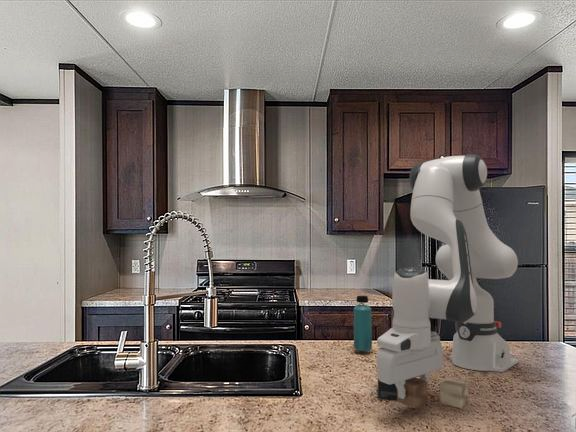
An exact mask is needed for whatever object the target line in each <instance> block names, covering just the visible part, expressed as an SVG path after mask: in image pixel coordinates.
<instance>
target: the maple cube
mask: <svg viewBox="0 0 576 432" xmlns="http://www.w3.org/2000/svg"><path fill="white" fill-rule="evenodd" d="M439 385H440V388H439V389H440V391H439V392H440V397H439V398H440V399H439V400H440V403H439V404H442V405H446V404H447V405H446V406H450V405H451V407H454V406H455V408H458V407H459V408H458V409H461V408H463V407H464V406H465V405H466V404H468V403H469V400H468V396H469V395H468V392H469V391H468V382H466V381H463V380H462V381H461V380H457V379H451V378H446V379H445V380H443V381H442V382H440V384H439ZM463 405H464V406H463ZM462 406H463V407H462Z"/></svg>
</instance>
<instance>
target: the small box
mask: <svg viewBox="0 0 576 432" xmlns="http://www.w3.org/2000/svg"><path fill="white" fill-rule="evenodd" d="M380 348H381V347H379V348H378V350H379V349H380ZM377 399H385V400H396V401H397V387H396V385H395V383H394V384H391V385H389V384H386V383H383V382H381V381H380V380H379V379H378V378H377Z"/></svg>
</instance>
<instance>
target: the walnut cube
mask: <svg viewBox="0 0 576 432" xmlns="http://www.w3.org/2000/svg"><path fill="white" fill-rule="evenodd" d="M419 378H420V377H419ZM419 378H418V377H414V378H411V379H407V380H405V384H404V388H405V390H408V397H407V398H405V399H402V398H399V396H398V389H397V400H396V401H397V402H399V403H402V404H404V405H406V406H408V407H411V408H416V407H420V406H423V405H425V404H428V402H429V401H428V399H429V397H428V395H429V394H428V393H429V392H428V391H429V390H428V381H425V380H422V379H419Z"/></svg>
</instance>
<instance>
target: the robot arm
mask: <svg viewBox="0 0 576 432" xmlns="http://www.w3.org/2000/svg"><path fill="white" fill-rule="evenodd" d="M487 176H488V168H487V165H486V163H485V160H484V159H483V157H481V156H480V155H479V154H472V153H471V154H470V153H469V154H467V153H466V154H465V155H451V156H449V155H448V156H444V157H440V158H436V159H431V160H428V161H420V162H418V163H416V164H414V165H413V167H412V168H411V169H410V171H409V185H410V188H411V190H412V195H411V201H410V210H409V211H410V212H409V213H410V215H409V216H410V221H411V222H412V225H413V226H414V227H415V228H416V230H418V232H420V233H421V234H423V235H425V236H426V237H429V238H432V239H434V240H437V241H439V242H442V243H444V245H441V246H440V247H439V248H438V250H437V251H436V253H435V254H436V255H435V265H436V267H437V269H438V270H439V271H440V272H441V273H442V274H443V275H444V276H445V277H446V278H447V279H448V280H446V279H434V278H433V279H432V278H431V279H430V278H429V276H428V272H427V270H425V268H420V267H417V266H416V267H413V266H412V267H410V266H408V267H403V268H400V269H398V270H396V271H395V272H394V277H393V281H392V282H393V283H392V291H391V292H392V296H391V300H392V301H391V304H392V305H391V306H392V309H393V318H392V327H391V328H389V329H388V330H387V331H386V332H384V333H383V334H382V335H380V336H379V337H378V338H377V340H376V343H377V346H378V347H379V348H380V349H379V348H378V351H377V355H376V376H377V380H378V379H379V380H380V381H381V382H383V383H386V384H389V385H391V384H394V383H395V385H396V387H397V389H398V396H399V398H402V399H405V398H407V397H408V390H405V388H404V384H405V380H407V379H411V378H414V377H416V378H418V377H419V379H422V380H425V381H428V380H429V378H430V373H433V372H437V371H440V370H442V369H443V367H444V362H445V361H444V351H443V346H442V342H441V337H440V335H439V334H438V333H437V332H436V331H432V329H431V327H432V326H431V320H430V319H437V320H438V319H439V320H446V321H450V322H453V323H454V322H455V324H454V325H455V331H456V332H455V333H454V335H453V338H452V339H453V340H452V352H451V354H449V359H450V360H451V362H452V363H451V364H453V365H454V366H457V367H459V368H462V369H467V370H472V371H481V372H483V371H484V372H499V373H503V372H506V371H507V370H509V369H510V368H512V367H514V366H515V365H517V364H518V363H519V360H518V359H517V358H515V357H512V356H511V351H510V350H511V348H510V345H509V343H508V342H507V341H506V340H505V339H504V338H502V336H501V335H500V334H499V333H498V329H501V328H502V322H501V321H497V320H494V319H495V318H494V317H495V315H494V313H495V312H494V311H495V310H494V307H495V306H494V304H495V303H494V297H492V295H491V294H490V292H489V291H487V290H485V289H484V288H482V287H481V286H480V285H479V283H478V280H477V278H478V279H491V280H499V279H507V278H511V277H513V275H514V274H515V273H516V271H517V269H518V265H519V260H518V259H519V258H518V256H517V254H516V252H515V250H513V248H511V247H510V246H508V245H507V244H505V243H504V242H503V241H501V240H500V239H499V238H498V237H497V236H496V234H494V232H493V231H492V230H491V228H490V226H489V224H488V221H487V218H486V214H485V209H484V205H483V204H484V203H483V199H482V196H481V191H480V189H481V188H483V186H484V185H485V184H486V183H487V178H488V177H487ZM497 328H498V329H497Z"/></svg>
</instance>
